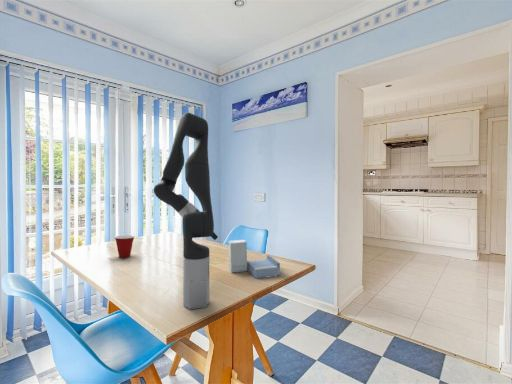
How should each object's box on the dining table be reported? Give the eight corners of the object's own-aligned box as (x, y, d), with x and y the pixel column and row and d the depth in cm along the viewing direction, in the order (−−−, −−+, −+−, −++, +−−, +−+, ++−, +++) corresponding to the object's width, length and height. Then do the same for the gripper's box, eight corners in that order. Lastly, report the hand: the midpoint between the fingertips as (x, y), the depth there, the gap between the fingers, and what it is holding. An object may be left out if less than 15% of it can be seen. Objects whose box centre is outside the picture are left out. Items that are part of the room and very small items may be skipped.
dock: (279, 275, 125) (279, 263, 125) (255, 278, 121) (255, 265, 121) (269, 266, 138) (269, 255, 138) (246, 268, 134) (246, 257, 134)
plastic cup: (138, 254, 159) (138, 234, 158) (128, 259, 148) (128, 238, 148) (121, 253, 160) (121, 233, 160) (110, 258, 149) (109, 237, 149)
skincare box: (244, 267, 136) (244, 239, 135) (247, 271, 130) (247, 241, 129) (228, 269, 134) (228, 239, 133) (230, 273, 128) (230, 242, 127)
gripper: (197, 209, 118) (223, 233, 122) (194, 206, 131) (217, 228, 135) (185, 221, 116) (211, 245, 120) (183, 217, 130) (207, 239, 134)
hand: (214, 236), depth 128 cm, fingers open, 8 cm apart
